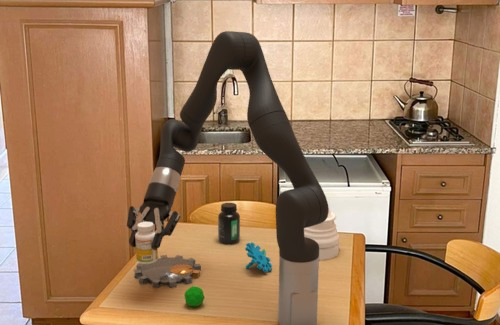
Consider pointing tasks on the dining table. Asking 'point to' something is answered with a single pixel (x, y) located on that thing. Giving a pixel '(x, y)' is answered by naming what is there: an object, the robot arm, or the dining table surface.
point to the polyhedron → (194, 296)
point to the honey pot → (325, 237)
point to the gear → (258, 257)
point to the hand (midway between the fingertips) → (143, 247)
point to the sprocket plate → (168, 271)
